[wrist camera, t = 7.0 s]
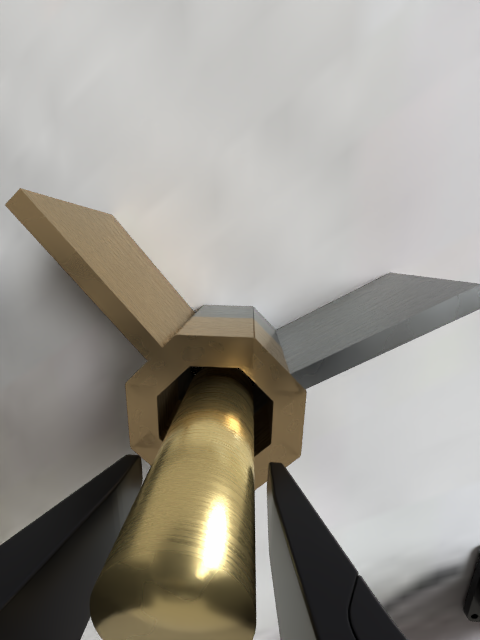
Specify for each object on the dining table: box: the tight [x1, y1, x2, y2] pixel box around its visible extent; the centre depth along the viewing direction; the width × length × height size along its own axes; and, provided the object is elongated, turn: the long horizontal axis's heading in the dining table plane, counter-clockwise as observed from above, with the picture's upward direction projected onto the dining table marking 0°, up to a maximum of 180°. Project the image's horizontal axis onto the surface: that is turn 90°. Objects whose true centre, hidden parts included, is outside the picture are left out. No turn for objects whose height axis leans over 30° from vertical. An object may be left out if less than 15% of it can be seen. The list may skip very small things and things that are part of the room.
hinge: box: [5, 188, 480, 490], centre depth 13 cm, size 12×16×6 cm
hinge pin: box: [89, 367, 256, 640], centre depth 9 cm, size 3×3×8 cm
